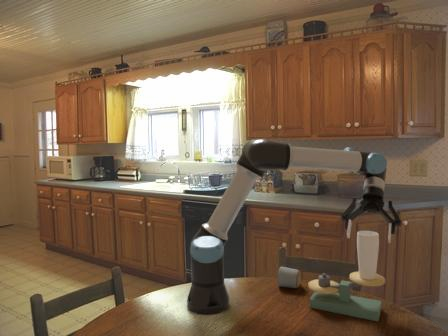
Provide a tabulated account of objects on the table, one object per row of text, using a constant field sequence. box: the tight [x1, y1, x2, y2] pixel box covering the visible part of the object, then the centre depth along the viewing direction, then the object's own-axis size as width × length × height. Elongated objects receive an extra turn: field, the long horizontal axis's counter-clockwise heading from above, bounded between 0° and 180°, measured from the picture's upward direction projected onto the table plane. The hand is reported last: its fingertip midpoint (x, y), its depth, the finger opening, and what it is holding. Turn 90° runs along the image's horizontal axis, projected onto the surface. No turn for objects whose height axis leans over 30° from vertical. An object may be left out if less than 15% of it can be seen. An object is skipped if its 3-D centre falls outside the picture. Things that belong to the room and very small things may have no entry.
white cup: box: [356, 230, 380, 280], centre depth 117 cm, size 7×7×15 cm
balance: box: [307, 270, 386, 322], centre depth 121 cm, size 25×11×12 cm, turn 62°
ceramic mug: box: [277, 266, 302, 289], centre depth 142 cm, size 11×8×8 cm
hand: (368, 238), depth 125 cm, fingers open, 13 cm apart
